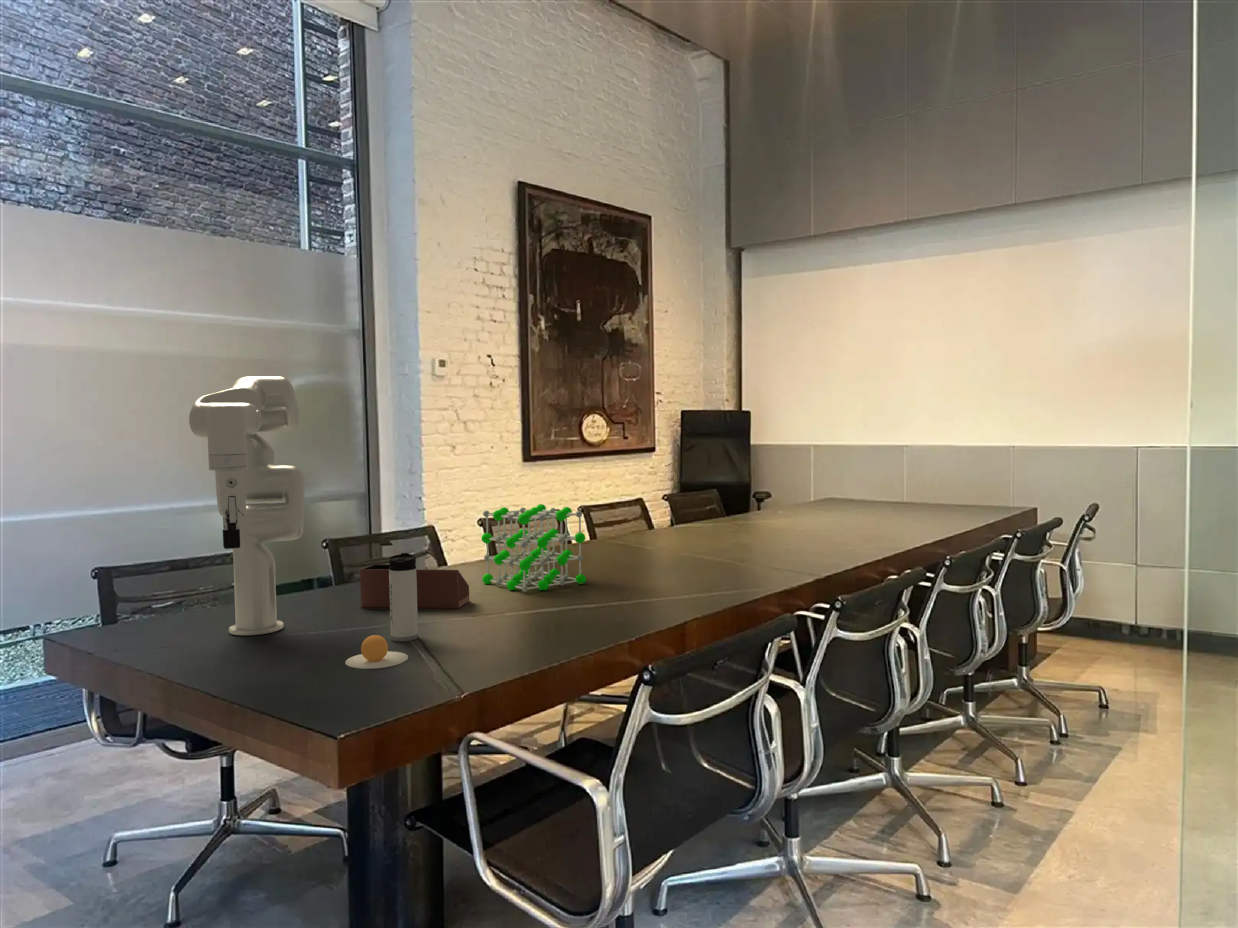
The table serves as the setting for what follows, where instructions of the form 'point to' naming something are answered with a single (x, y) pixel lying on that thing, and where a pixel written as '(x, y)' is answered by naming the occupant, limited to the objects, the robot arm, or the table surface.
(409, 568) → the travel mug
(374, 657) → the ball
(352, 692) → the table surface
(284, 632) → the table surface
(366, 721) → the table surface
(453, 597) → the desk organizer
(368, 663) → the disc
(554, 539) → the molecular structure model
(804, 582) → the table surface
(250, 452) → the robot arm
